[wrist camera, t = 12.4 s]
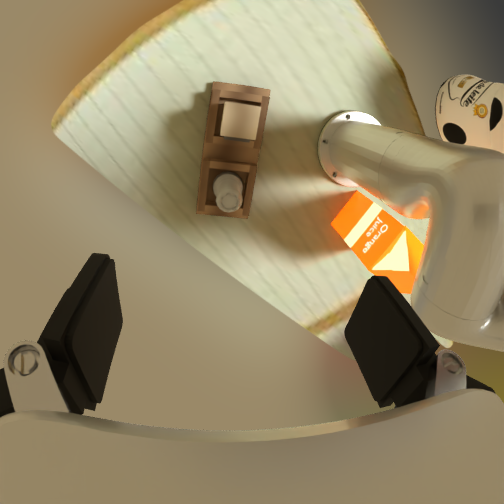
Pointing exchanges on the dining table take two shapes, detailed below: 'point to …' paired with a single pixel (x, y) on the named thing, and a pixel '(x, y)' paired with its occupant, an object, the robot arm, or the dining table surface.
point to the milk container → (471, 112)
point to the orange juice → (380, 241)
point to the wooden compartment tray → (232, 142)
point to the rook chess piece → (228, 191)
